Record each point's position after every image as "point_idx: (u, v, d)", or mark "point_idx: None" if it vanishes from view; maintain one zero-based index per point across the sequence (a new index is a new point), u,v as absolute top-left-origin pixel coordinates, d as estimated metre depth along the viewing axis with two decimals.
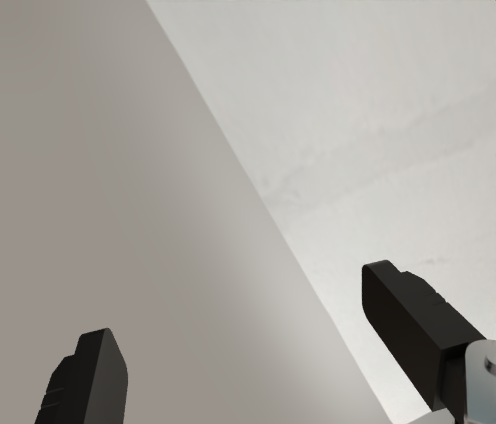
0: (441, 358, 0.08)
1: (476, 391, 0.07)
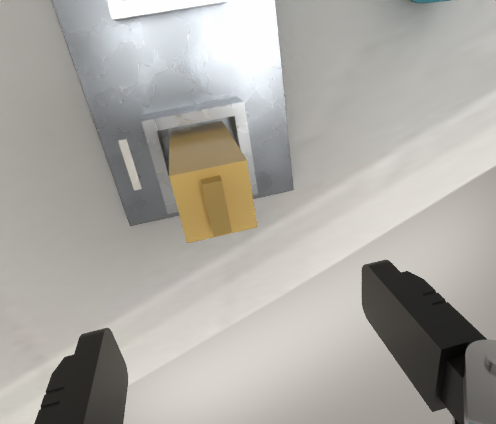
0: (441, 358, 0.08)
1: (476, 391, 0.07)
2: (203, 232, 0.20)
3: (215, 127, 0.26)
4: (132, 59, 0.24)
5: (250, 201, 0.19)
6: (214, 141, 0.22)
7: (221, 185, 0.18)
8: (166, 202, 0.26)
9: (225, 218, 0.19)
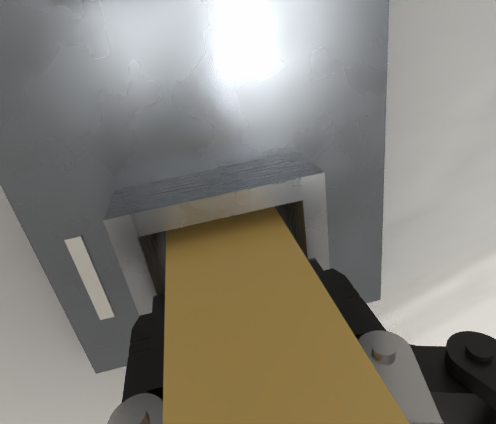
0: None
1: None
2: None
3: (259, 218, 0.13)
4: (86, 82, 0.11)
5: None
6: (272, 285, 0.09)
7: None
8: None
9: None
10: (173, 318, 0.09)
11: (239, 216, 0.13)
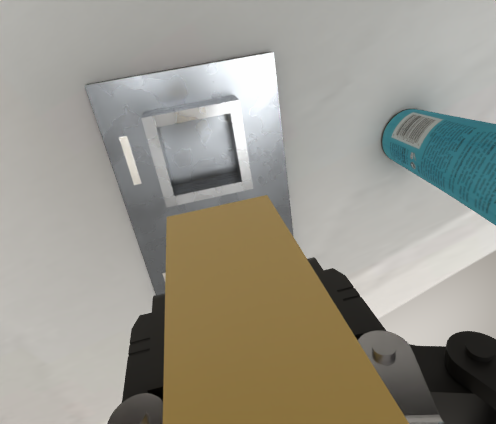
0: None
1: None
2: None
3: (259, 219, 0.13)
4: None
5: None
6: (272, 286, 0.09)
7: None
8: None
9: None
10: (173, 319, 0.09)
11: (239, 216, 0.13)
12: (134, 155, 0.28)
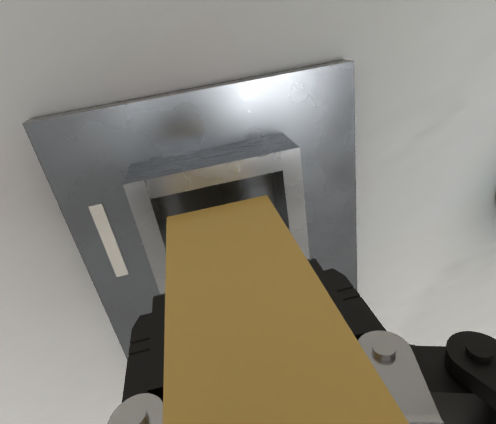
0: None
1: None
2: None
3: (259, 219, 0.13)
4: None
5: None
6: (272, 286, 0.09)
7: None
8: None
9: None
10: (173, 319, 0.09)
11: (239, 216, 0.13)
12: (115, 233, 0.17)
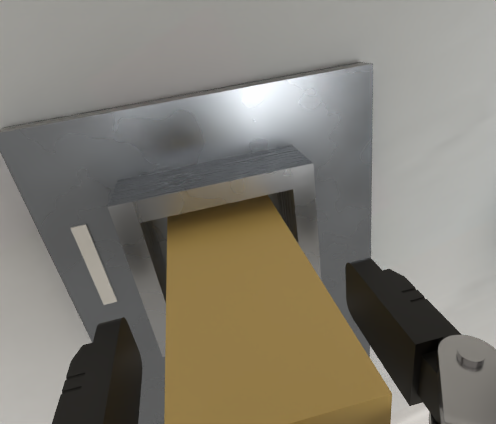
0: (416, 353, 0.08)
1: (445, 384, 0.07)
2: None
3: (254, 207, 0.13)
4: None
5: None
6: (264, 264, 0.10)
7: None
8: None
9: None
10: (174, 293, 0.10)
11: (235, 205, 0.14)
12: (102, 256, 0.15)
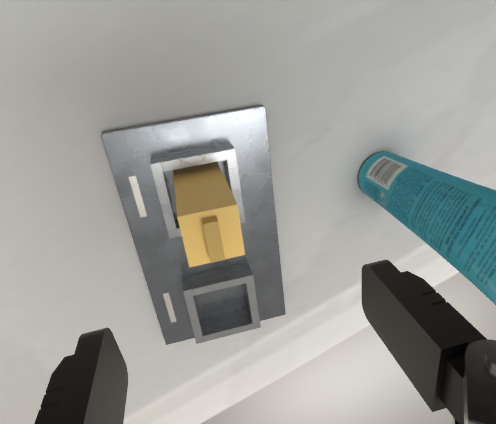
0: (441, 358, 0.08)
1: (476, 391, 0.07)
2: (202, 259, 0.25)
3: (211, 168, 0.31)
4: (177, 246, 0.35)
5: (239, 235, 0.25)
6: (211, 184, 0.28)
7: (217, 224, 0.23)
8: (196, 336, 0.37)
9: (220, 249, 0.24)
10: (177, 192, 0.27)
11: (203, 167, 0.31)
12: (141, 192, 0.32)
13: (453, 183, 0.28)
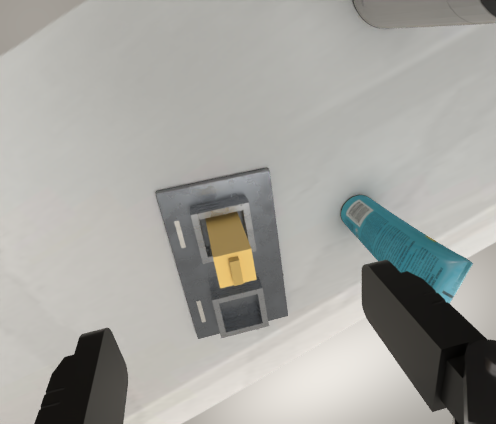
0: (441, 358, 0.08)
1: (476, 391, 0.07)
2: (228, 283, 0.38)
3: (232, 215, 0.44)
4: (206, 267, 0.48)
5: (253, 267, 0.38)
6: (232, 230, 0.40)
7: (239, 262, 0.36)
8: (221, 333, 0.51)
9: (240, 277, 0.37)
10: (210, 236, 0.40)
11: (226, 214, 0.44)
12: (182, 231, 0.45)
13: (400, 228, 0.40)
